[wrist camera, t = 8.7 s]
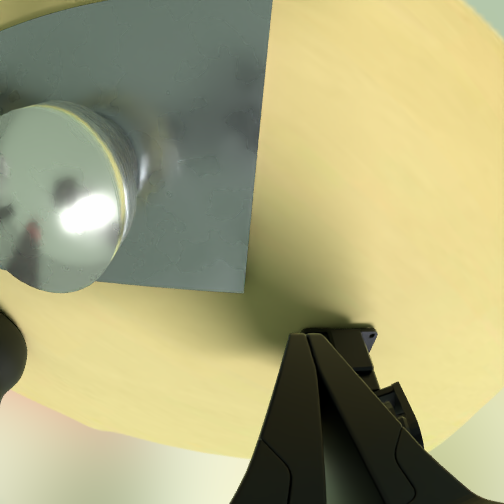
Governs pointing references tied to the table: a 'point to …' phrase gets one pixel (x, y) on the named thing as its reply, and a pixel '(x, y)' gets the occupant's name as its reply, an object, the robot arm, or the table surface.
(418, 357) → the table surface
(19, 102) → the plate
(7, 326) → the cola bottle
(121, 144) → the elbow
